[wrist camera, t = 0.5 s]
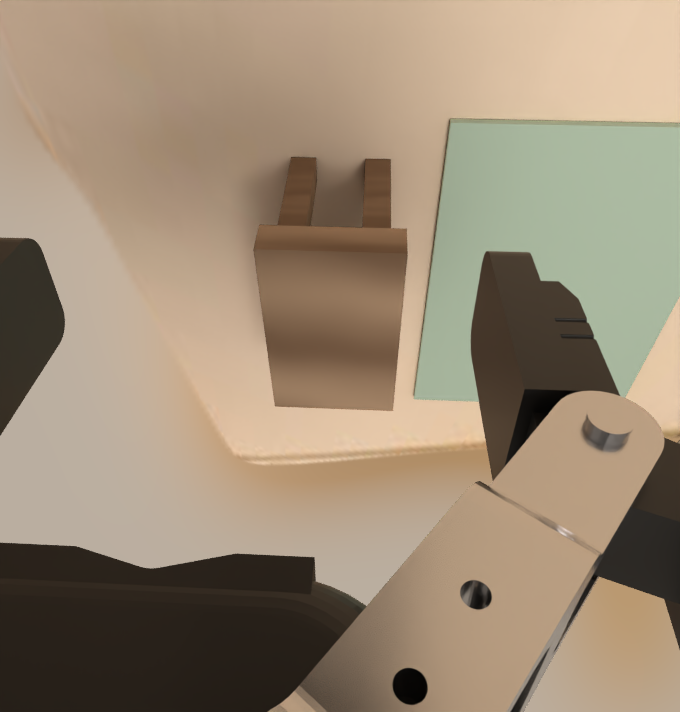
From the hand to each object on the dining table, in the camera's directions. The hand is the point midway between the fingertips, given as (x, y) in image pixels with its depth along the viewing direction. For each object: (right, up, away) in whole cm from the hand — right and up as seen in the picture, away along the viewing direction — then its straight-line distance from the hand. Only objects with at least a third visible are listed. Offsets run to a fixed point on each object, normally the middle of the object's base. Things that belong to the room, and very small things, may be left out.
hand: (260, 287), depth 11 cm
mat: (+13, +3, +24) cm, 27 cm away
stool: (+1, +5, +22) cm, 22 cm away
